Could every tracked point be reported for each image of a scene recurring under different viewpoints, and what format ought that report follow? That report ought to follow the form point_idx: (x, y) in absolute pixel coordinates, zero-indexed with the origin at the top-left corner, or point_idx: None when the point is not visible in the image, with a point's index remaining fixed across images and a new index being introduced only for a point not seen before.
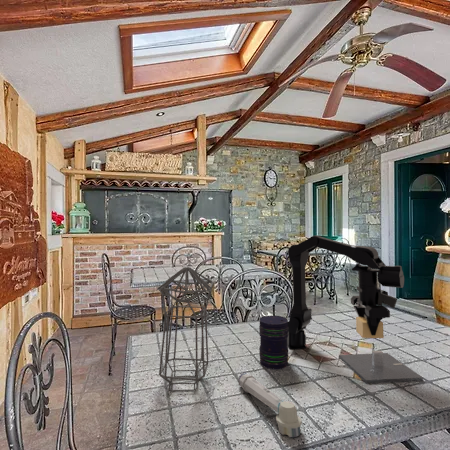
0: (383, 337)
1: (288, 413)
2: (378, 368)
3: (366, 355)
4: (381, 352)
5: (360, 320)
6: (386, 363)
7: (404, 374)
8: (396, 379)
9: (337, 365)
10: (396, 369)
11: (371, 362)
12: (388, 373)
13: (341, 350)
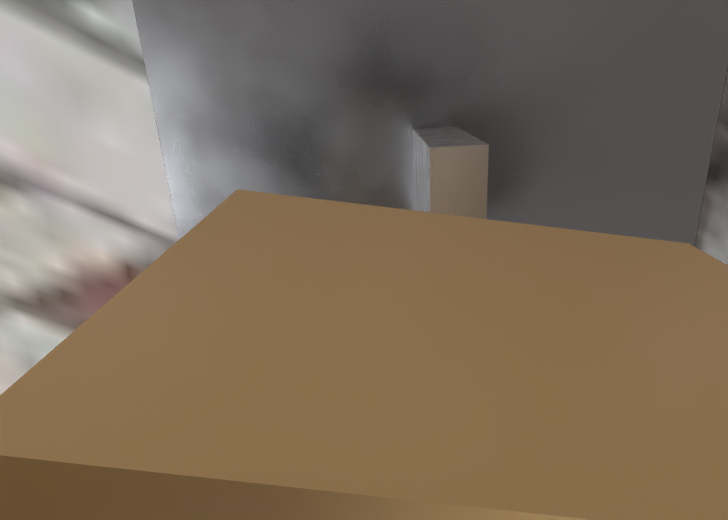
0: (699, 252)
1: None
2: (501, 200)
3: (205, 171)
4: (486, 166)
5: None
6: (401, 55)
7: (660, 4)
8: (707, 140)
9: None
10: (546, 25)
11: (371, 201)
12: (609, 161)
13: (51, 317)
